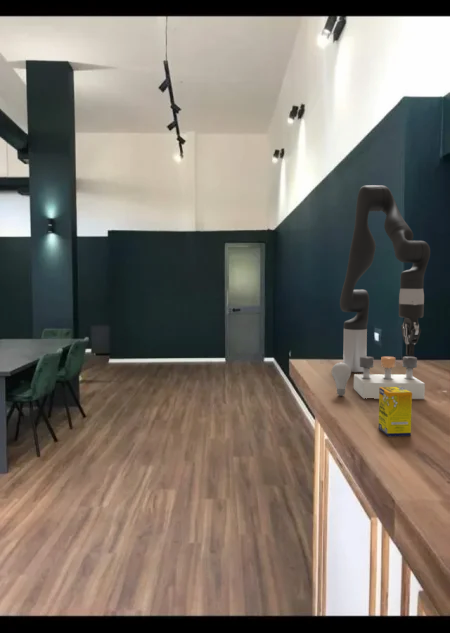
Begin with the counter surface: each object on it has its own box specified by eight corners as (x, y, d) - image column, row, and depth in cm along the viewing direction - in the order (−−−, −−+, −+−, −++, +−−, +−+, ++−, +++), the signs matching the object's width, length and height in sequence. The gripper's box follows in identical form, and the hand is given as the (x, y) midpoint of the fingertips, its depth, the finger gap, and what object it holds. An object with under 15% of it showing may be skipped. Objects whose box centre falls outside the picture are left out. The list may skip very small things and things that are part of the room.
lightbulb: (351, 394, 160) (351, 361, 159) (349, 399, 154) (350, 364, 153) (332, 393, 162) (332, 360, 161) (330, 397, 156) (330, 363, 155)
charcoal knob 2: (400, 381, 163) (400, 356, 162) (413, 381, 163) (414, 356, 162) (404, 384, 159) (405, 358, 158) (418, 384, 159) (419, 358, 158)
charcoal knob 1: (357, 381, 164) (358, 356, 163) (371, 381, 164) (371, 356, 163) (361, 384, 159) (361, 358, 159) (374, 384, 159) (375, 358, 158)
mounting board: (353, 388, 169) (353, 374, 168) (409, 388, 168) (409, 374, 168) (363, 398, 155) (363, 383, 154) (424, 399, 154) (424, 383, 154)
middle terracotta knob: (379, 381, 163) (379, 356, 163) (392, 381, 163) (393, 356, 163) (382, 384, 159) (383, 358, 158) (396, 384, 159) (397, 358, 158)
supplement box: (377, 429, 124) (378, 386, 123) (400, 428, 124) (401, 386, 123) (387, 436, 118) (388, 392, 117) (411, 436, 118) (412, 391, 117)
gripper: (393, 301, 165) (392, 352, 167) (406, 303, 152) (404, 358, 154) (416, 301, 165) (414, 352, 167) (430, 303, 152) (429, 358, 153)
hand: (409, 355), depth 160 cm, fingers closed
